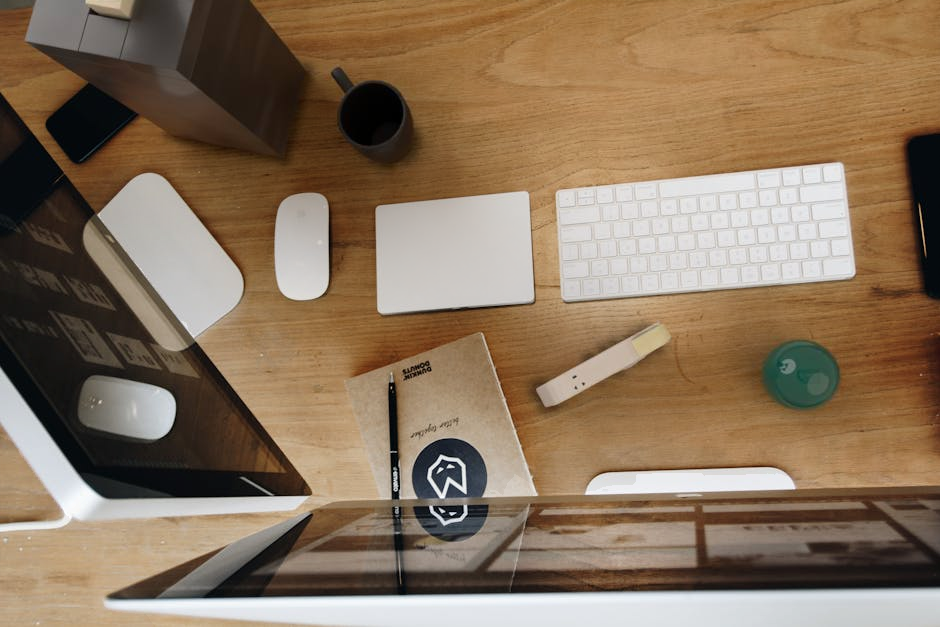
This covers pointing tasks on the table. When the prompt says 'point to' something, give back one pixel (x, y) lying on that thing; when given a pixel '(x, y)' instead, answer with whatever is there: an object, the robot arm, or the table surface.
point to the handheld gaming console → (603, 365)
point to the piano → (182, 66)
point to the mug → (374, 119)
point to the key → (113, 8)
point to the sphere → (800, 375)
